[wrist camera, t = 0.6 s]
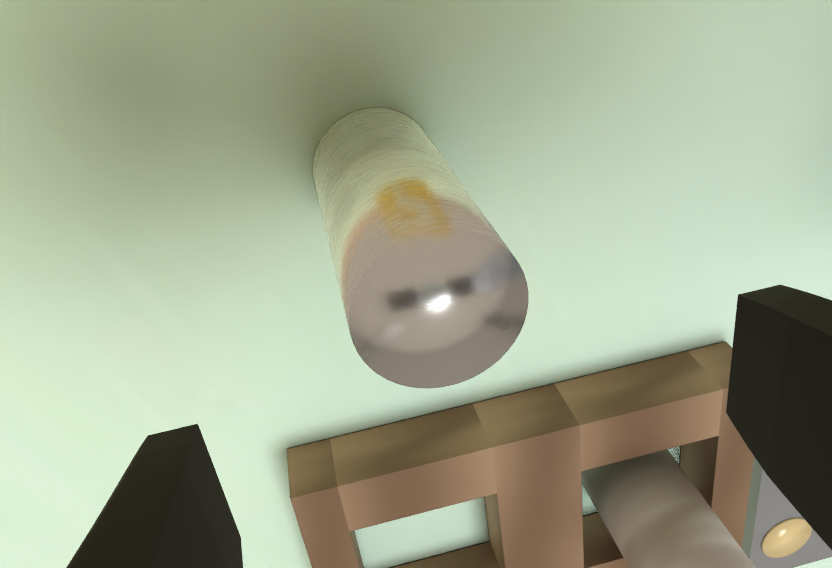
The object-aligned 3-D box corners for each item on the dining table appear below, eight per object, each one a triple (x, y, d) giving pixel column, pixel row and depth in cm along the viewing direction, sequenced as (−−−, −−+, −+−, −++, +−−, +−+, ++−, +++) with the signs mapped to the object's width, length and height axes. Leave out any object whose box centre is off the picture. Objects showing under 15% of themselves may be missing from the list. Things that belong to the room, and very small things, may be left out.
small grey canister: (425, 96, 17) (522, 211, 11) (440, 210, 19) (533, 365, 13) (300, 121, 17) (332, 252, 11) (326, 235, 18) (366, 406, 12)
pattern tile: (915, 374, 26) (931, 386, 25) (873, 529, 30) (886, 543, 29) (758, 414, 25) (770, 428, 24) (737, 568, 29) (748, 582, 28)
